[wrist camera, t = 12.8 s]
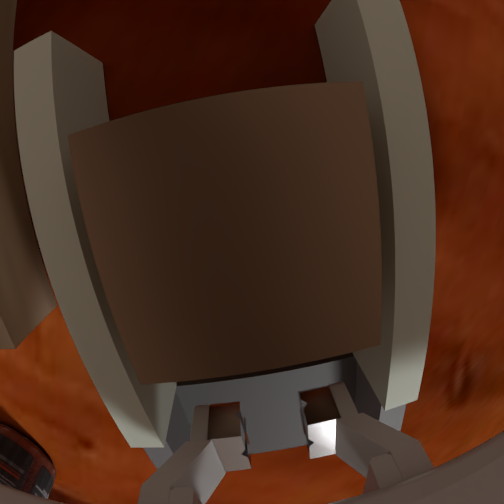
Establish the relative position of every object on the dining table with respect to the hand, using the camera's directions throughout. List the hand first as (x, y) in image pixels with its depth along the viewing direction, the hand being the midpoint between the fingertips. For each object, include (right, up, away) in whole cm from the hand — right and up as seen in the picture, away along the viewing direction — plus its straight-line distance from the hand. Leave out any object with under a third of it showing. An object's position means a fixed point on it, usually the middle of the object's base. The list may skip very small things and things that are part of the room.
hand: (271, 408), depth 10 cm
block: (-1, +7, 0) cm, 7 cm away
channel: (-1, +4, +1) cm, 4 cm away
